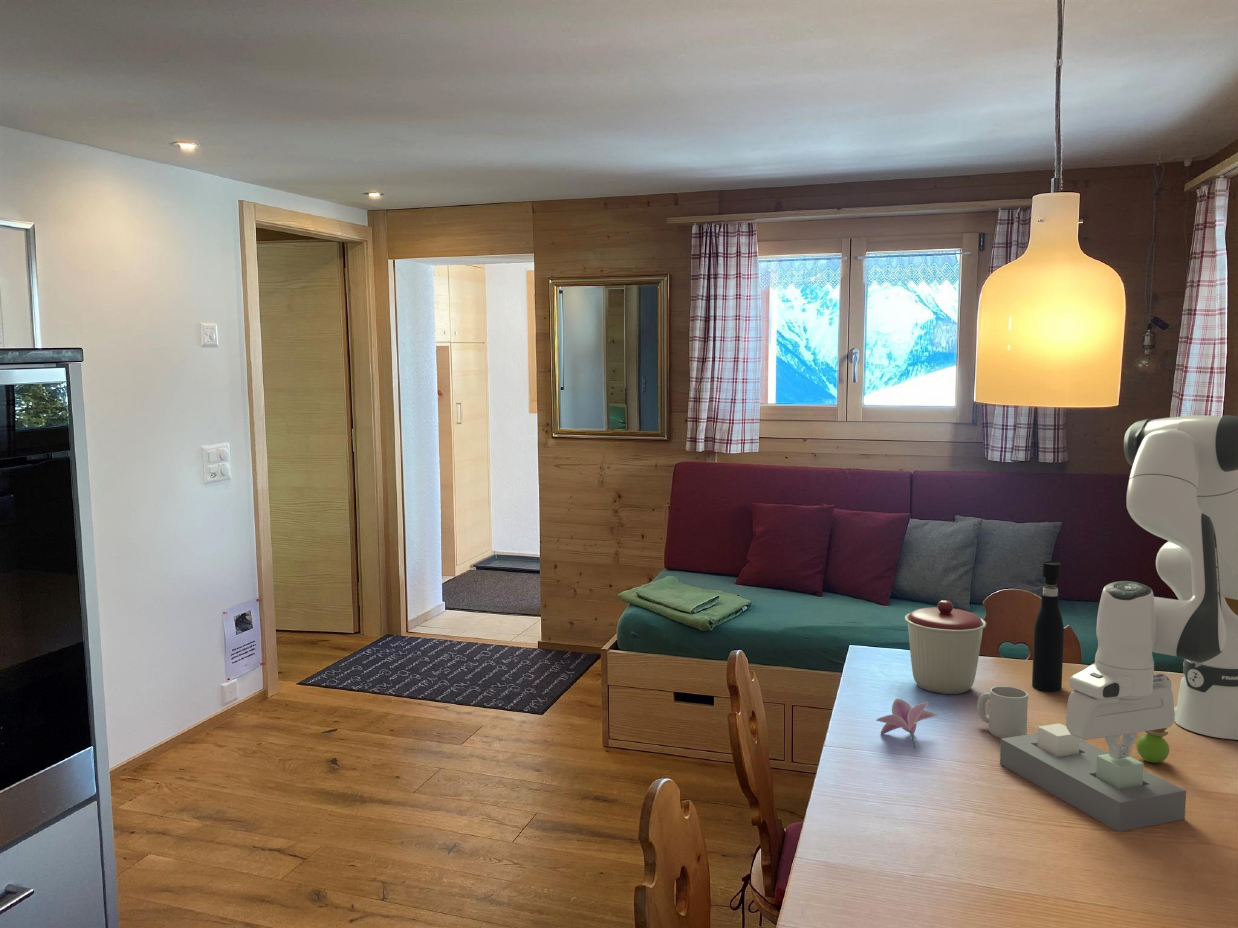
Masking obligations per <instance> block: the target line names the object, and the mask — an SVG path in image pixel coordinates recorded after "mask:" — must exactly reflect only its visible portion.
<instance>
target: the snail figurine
mask: <svg viewBox="0 0 1238 928" xmlns="http://www.w3.org/2000/svg"><path fill="white" fill-rule="evenodd" d="M1167 729H1168V728H1162V729H1156V730H1149V731H1144V732H1145V733H1144V734H1143V735H1141V736H1140V737H1139V738H1138V740H1137V743H1136V750H1137V752H1138V754H1139V756H1140V757H1141V758H1142V759H1143V760H1145V761H1146V762H1149V763H1154V764H1155V763H1156V764H1158V763H1162V762H1164V761H1165V760H1167V758H1168V757H1169V755H1170V746H1169V744H1168V741H1167V740H1166V739H1165V738H1164V737H1166V736H1168V735H1169V734H1170V733H1169V732H1168V731H1166V730H1167Z"/></svg>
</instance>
